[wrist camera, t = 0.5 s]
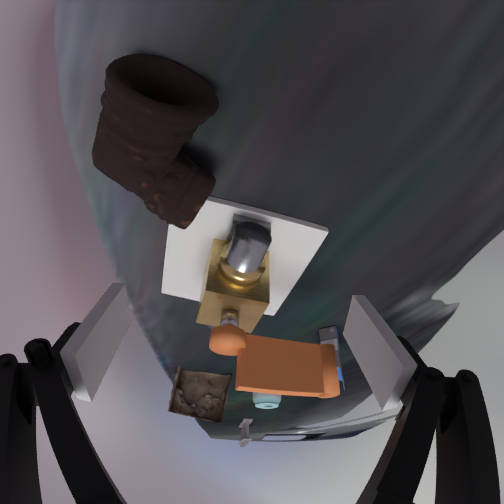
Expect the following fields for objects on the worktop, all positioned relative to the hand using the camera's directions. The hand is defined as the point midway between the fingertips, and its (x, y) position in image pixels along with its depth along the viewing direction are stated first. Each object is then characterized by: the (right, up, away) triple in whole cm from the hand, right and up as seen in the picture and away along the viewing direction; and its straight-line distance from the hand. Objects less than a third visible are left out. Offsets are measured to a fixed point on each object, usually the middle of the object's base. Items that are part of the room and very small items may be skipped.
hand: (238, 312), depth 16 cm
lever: (+4, -8, +21) cm, 23 cm away
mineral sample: (-13, -31, +64) cm, 72 cm away
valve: (-2, +3, +29) cm, 29 cm away
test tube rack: (-3, -87, +121) cm, 149 cm away
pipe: (-9, +17, +14) cm, 23 cm away
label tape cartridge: (+18, -15, +46) cm, 52 cm away
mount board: (-2, +3, +29) cm, 29 cm away
